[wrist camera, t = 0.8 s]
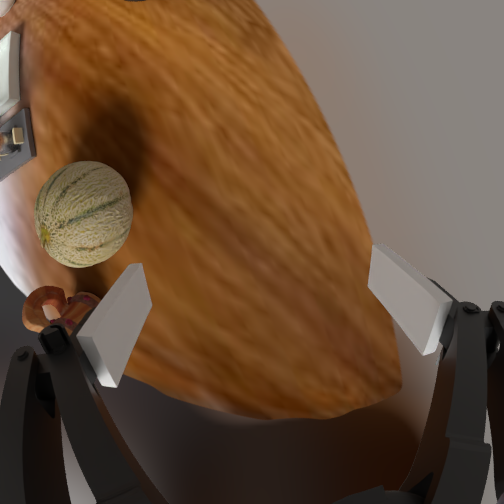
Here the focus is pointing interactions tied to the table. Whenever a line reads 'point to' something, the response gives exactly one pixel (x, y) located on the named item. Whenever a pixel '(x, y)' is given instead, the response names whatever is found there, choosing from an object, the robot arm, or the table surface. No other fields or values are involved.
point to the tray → (9, 71)
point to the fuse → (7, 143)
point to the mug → (56, 297)
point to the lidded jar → (5, 6)
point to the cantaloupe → (83, 213)
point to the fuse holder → (22, 135)
